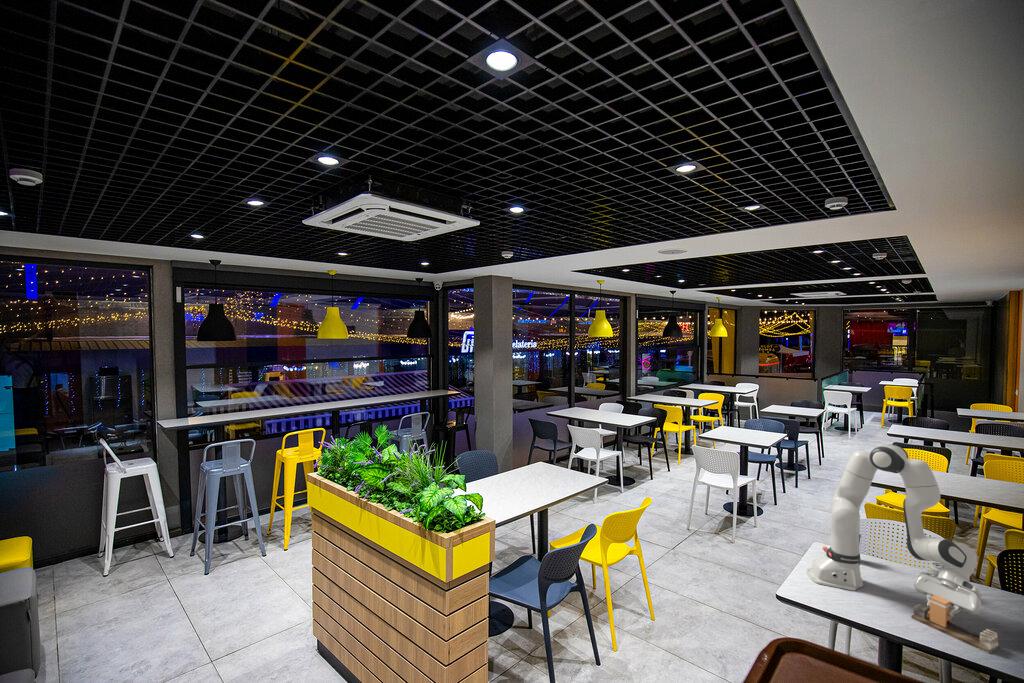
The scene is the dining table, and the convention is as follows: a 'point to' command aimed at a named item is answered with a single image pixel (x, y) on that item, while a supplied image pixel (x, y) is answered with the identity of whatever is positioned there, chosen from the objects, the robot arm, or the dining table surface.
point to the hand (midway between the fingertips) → (939, 611)
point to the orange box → (939, 610)
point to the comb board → (958, 631)
